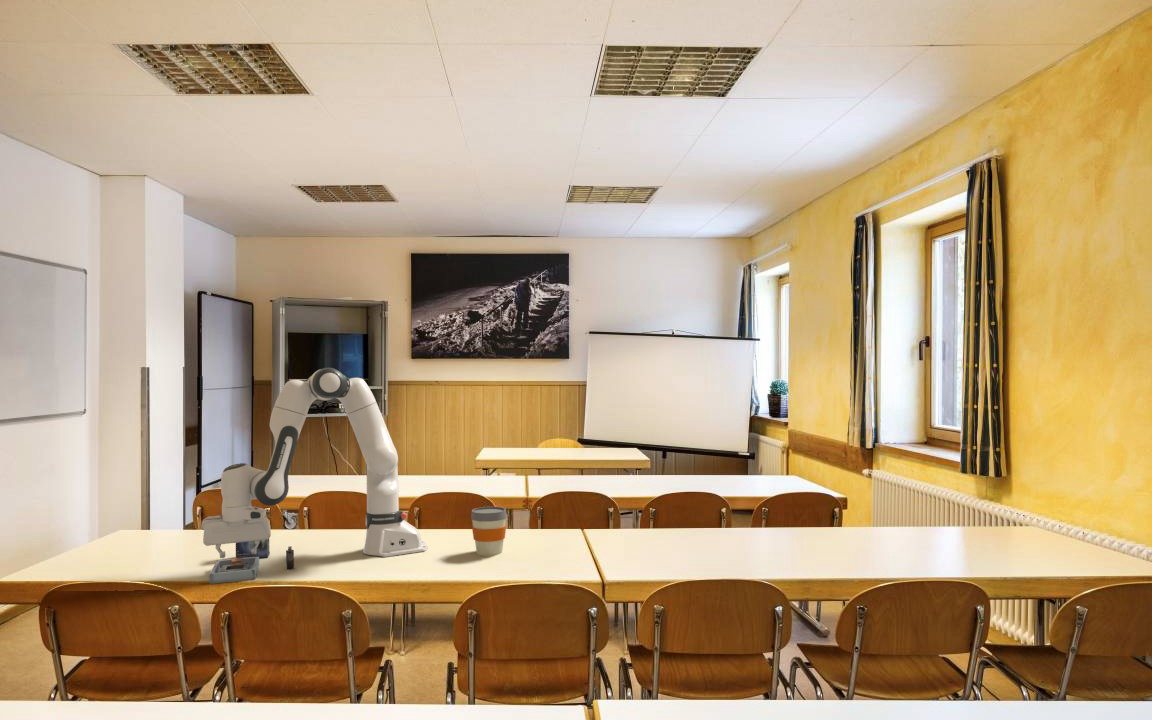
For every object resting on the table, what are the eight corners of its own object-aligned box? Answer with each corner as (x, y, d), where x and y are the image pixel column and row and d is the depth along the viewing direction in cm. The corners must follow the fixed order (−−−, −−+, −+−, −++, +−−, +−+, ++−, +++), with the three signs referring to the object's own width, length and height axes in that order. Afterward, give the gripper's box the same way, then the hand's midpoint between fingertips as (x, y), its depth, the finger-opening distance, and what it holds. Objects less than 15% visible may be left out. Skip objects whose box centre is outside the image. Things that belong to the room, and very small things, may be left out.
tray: (259, 565, 253) (259, 556, 253) (255, 579, 237) (255, 569, 237) (217, 569, 249) (216, 560, 249) (209, 583, 232) (209, 574, 232)
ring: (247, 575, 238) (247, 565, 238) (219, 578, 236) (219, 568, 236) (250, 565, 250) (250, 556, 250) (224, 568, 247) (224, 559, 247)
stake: (294, 567, 250) (293, 546, 250) (293, 569, 247) (293, 548, 247) (286, 567, 249) (286, 546, 249) (286, 570, 246) (285, 548, 246)
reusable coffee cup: (501, 557, 257) (500, 513, 257) (466, 556, 260) (465, 513, 260) (511, 548, 270) (511, 506, 270) (478, 547, 272) (477, 506, 272)
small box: (235, 561, 259) (234, 530, 259) (238, 556, 266) (237, 526, 266) (267, 558, 262) (267, 528, 262) (270, 554, 268) (269, 524, 268)
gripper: (200, 518, 240) (201, 562, 240) (269, 512, 247) (270, 554, 247) (203, 515, 246) (204, 557, 246) (270, 509, 253) (271, 550, 253)
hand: (238, 555), depth 246 cm, fingers open, 8 cm apart
